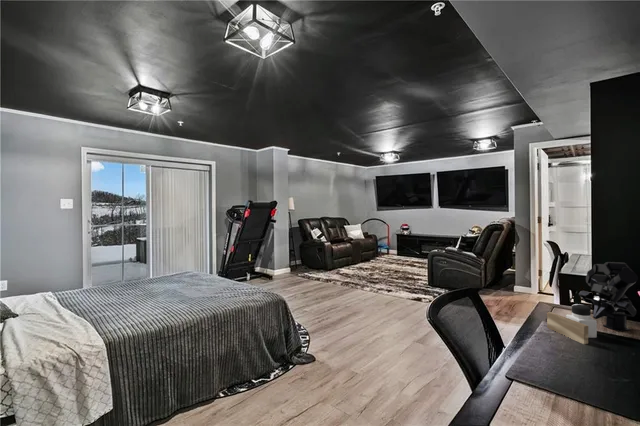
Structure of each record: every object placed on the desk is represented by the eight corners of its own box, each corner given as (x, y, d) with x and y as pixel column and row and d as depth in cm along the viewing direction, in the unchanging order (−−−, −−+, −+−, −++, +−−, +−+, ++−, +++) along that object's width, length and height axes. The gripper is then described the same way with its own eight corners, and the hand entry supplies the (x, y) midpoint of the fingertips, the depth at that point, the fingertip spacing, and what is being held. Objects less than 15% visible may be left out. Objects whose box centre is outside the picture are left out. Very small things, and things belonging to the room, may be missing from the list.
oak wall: (551, 328, 137) (551, 312, 137) (588, 343, 122) (588, 325, 121) (547, 328, 137) (547, 312, 137) (583, 344, 121) (583, 326, 121)
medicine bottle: (597, 337, 127) (597, 308, 127) (579, 338, 127) (579, 308, 127) (582, 330, 134) (582, 302, 134) (565, 330, 134) (565, 302, 134)
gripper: (582, 272, 140) (561, 299, 138) (631, 282, 122) (609, 313, 120) (595, 288, 142) (576, 314, 141) (646, 301, 124) (624, 331, 122)
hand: (594, 318), depth 131 cm, fingers closed
